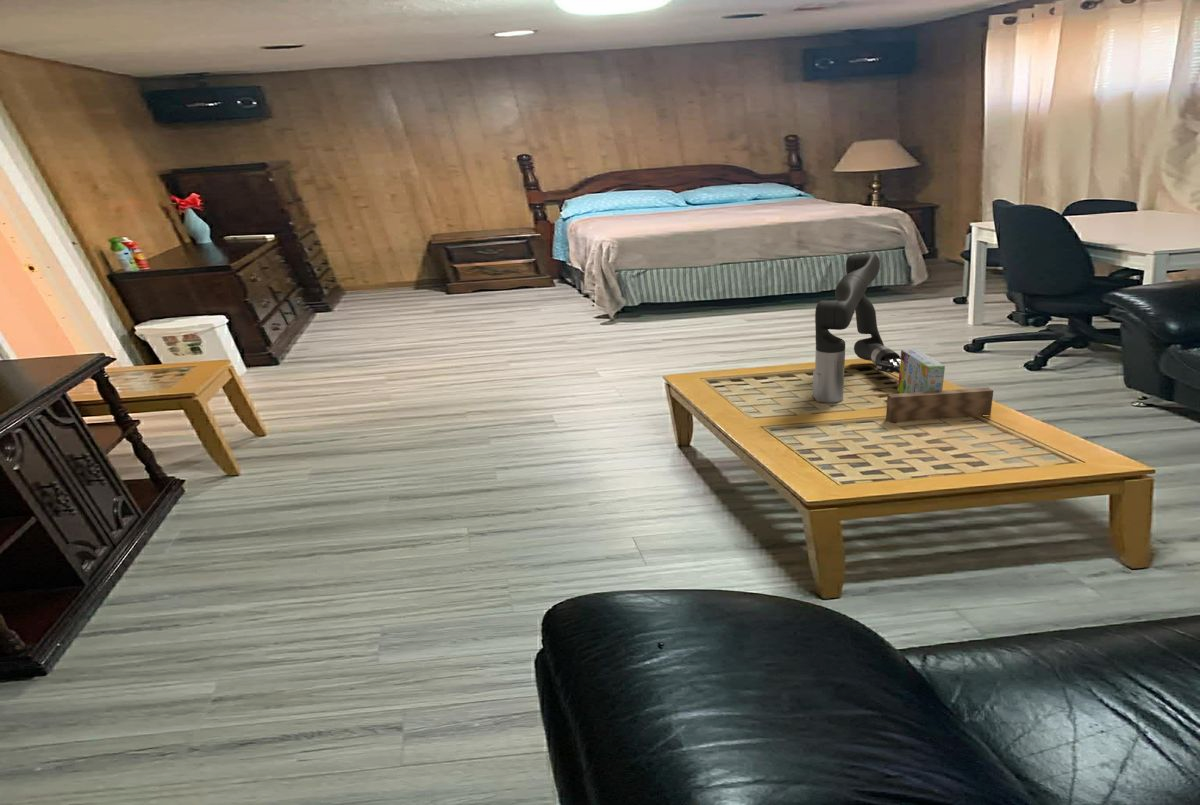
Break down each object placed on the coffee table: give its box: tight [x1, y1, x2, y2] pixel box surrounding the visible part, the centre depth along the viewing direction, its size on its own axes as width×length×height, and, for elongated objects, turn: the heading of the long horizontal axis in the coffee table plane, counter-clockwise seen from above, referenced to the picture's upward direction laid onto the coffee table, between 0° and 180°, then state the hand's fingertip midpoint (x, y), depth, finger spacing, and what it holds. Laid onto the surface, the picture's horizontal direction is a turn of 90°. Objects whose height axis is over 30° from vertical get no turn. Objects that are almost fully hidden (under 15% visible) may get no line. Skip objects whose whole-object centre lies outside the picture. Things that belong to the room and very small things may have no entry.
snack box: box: [897, 348, 946, 394], centre depth 219 cm, size 21×6×15 cm, turn 0°
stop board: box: [885, 386, 994, 423], centre depth 207 cm, size 30×3×8 cm, turn 90°
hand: (905, 372), depth 229 cm, fingers closed
